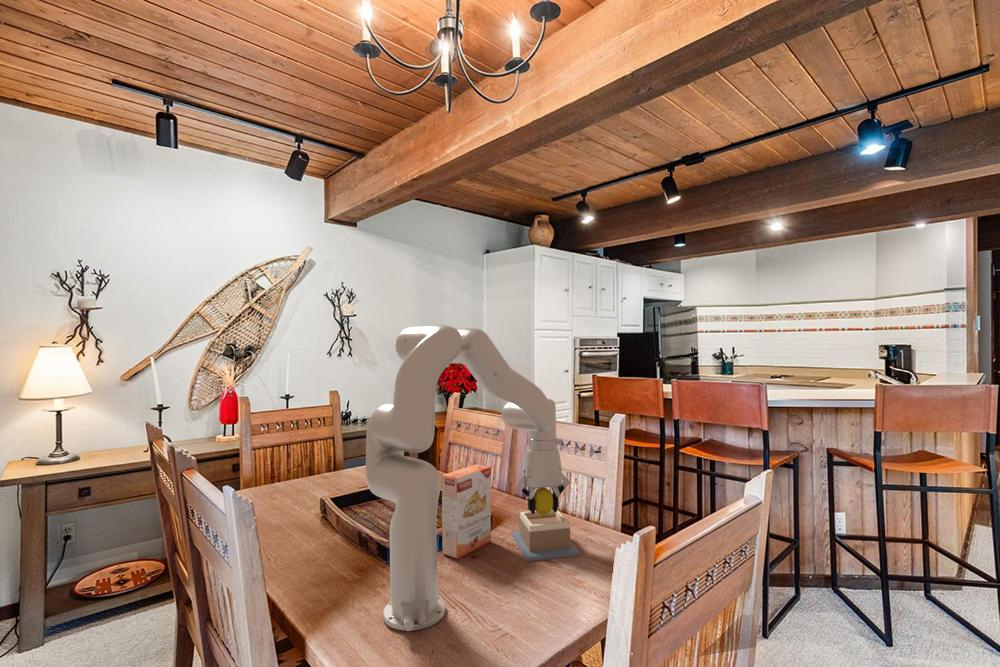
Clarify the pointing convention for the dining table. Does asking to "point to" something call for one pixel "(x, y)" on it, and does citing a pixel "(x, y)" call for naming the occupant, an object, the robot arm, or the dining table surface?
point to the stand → (544, 536)
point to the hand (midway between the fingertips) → (543, 510)
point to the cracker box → (466, 510)
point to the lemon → (543, 501)
